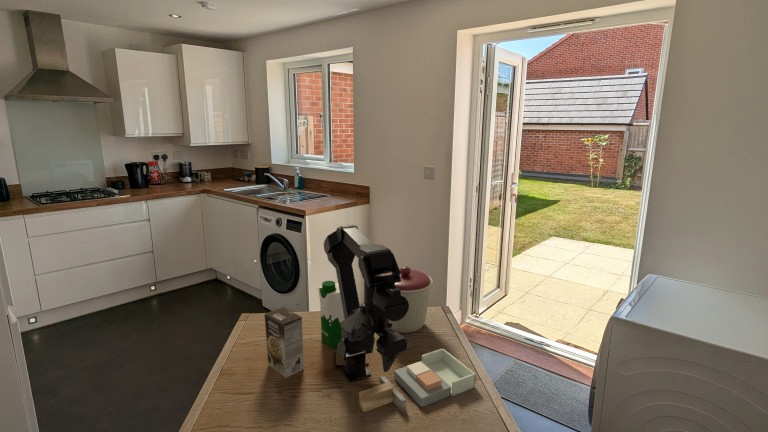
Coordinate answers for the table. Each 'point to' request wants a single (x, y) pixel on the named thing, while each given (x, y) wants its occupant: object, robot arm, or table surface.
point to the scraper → (381, 396)
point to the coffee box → (284, 341)
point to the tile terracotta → (429, 380)
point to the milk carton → (331, 313)
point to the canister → (413, 299)
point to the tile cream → (417, 369)
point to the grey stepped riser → (421, 388)
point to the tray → (450, 370)
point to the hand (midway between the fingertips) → (376, 361)
